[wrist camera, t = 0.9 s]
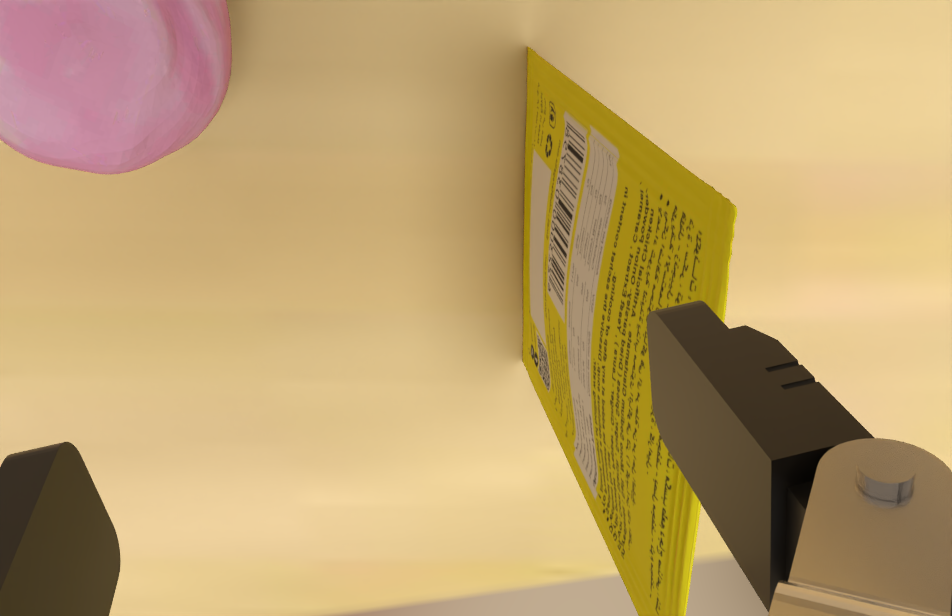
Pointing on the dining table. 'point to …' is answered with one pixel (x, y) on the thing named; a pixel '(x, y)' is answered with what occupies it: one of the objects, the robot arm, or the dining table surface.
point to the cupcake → (110, 78)
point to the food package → (614, 316)
